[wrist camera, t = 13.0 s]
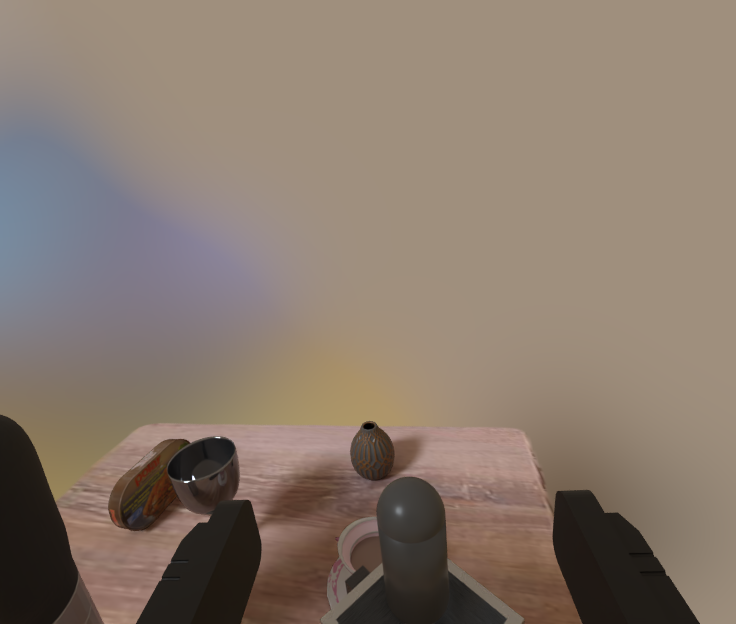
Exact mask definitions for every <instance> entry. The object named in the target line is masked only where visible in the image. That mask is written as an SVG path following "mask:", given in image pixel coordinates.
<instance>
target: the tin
mask: <svg viewBox="0 0 736 624" xmlns="http://www.w3.org/2000/svg"><path fill="white" fill-rule="evenodd" d="M188 444H190V442H189V441H187V440H185V439H169V440H165V441H163V442H161V443H159V444H158V445H157V446H156V447H155V448H153V449H152V450H151V451H150V452H149V453H148V454H147V455H146V456H145V457H143V458H142V459H141V460H140V461H139V462H138V463H137V464H136V465H135V466H133V467H132V468H131V469H130V470H129V471H128V472H127V473H126V474H125V475H123V476H122V477H121V478H120V479H119V481H118V482H117V483H116V485H115V486H114V488H113V490H112V493H111V495H110V499H109V504H108V510H109V514H110V517H111V520H112V521H113V523H114V524H115V525H116V526H118V527H120V528H124V529H129V530H131V531H139V530H142V529H145V528H147V527H148V526H149V525H151V524H152V523H153V522H154V521H155V520H156V519H157V518H158V517H159V515H160V514H161V513H162V512H163V511H164V510H165V509H166V508H167V506H168V505H169V504H170V503H171V502H172V501H173V500H174V499H175V498H176V496H177V495H176V493H175V492H174V490H173V487H172V485H171V482H170V480H169V477H168V473H167V465H168V463H169V461H170V459H171V458H172V457H173V456H174V454H175V453H177V452H178V451H179V450H180V449H182V448H183V447H185V446H186V445H188Z"/></svg>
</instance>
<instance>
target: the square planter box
mask: <svg viewBox="0 0 736 624" xmlns="http://www.w3.org/2000/svg"><path fill="white" fill-rule="evenodd" d="M447 561H448V581H449V603H448V607H447V609H446V611H445V613H444V614H443V616H442V617H441V618H440V619H439V620H437V621H436V622H434V623H433V624H524V618H523V617H521V616H520V615H519V614H518V613H516V612H515V611H514V610H513V609H511V608H510V607H509V606H508V605H506V604H505V603H504V602H503V601H501V600H500V599H499V598H497V597H496V596H495V595H494V594H492V593H491V592H490V591H489V590H487V589H486V588H485V587H484V586H482V585H481V584H480V583H479V582H477V581H476V580H475V579H473V578H472V577H471V576H470V575H468V574H467V573H466V572H465V571H463V570H462V569H461V568H460V567H458V566H457V565H456V564H455V563H453V562H452V561H451V560H449V559H448V558H447ZM345 585H346V591H347V595H346V596H345V597H344V598H343V599H342V600H341V601H340V602H339V603H337V604H336V605H335V606H334V607H333V608H332V609H331V610H330V611H329V612H328V613H327V614H325V615H324V616H323V617H322V618H321V619H320V622H321V624H406V623H404V622H402V621H400V620H399V619H398V618H397V617H396V616H395V615H394V614H393V613H392V611H391V610H390V607H389V605H388V602H387V597H386V589H385V581H384V573H383V565H382V563H381V564H380V565H379V566H378V567H377V568H376V569H375V570H374V571H372V572H371V573H370V572H369V571H368V570H367V569H366V568H365V567H364V566H363V565H362V566H361V567H360V568H359V569H358V570H357V571H356V572H354V573H353V574H352V575H351V576H350V577H349V578H348V579H347V580H345Z"/></svg>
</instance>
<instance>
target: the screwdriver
mask: <svg viewBox="0 0 736 624" xmlns="http://www.w3.org/2000/svg"><path fill="white" fill-rule="evenodd" d="M376 512H377V524H378V532H379V540H380V548H381V557H382V565H383V573H384V581H385V589H386V597H387V602H388V605H389V607H390V610H391V611H392V613H393V614H394V615H395V616H396V617H397V618H398V619H399V620H400V621H402V622H404V623H406V624H433V623H434V622H436V621H437V620H439V619H440V618H441V617H442V616H443V614H444V613H445V611H446V609H447V607H448V603H449V581H448V561H447V540H446V520H445V509H444V505H443V502H442V499H441V497H440V495H439V494H438V492H437V491H436V490H435V488H434V487H433V486H431V485H430V484H429V483H428V482H426V481H424V480H422V479H420V478H416V477H403V478H399V479H397V480H395V481H393V482H392V483H390V484H389V485H388V486H387V487H386V488H385V489H384V490H383V492H382V494H381V496H380V498H379V501H378V504H377V511H376Z"/></svg>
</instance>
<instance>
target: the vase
mask: <svg viewBox="0 0 736 624" xmlns="http://www.w3.org/2000/svg"><path fill="white" fill-rule="evenodd" d="M350 455H351V461H352V464H353V467H354V468H355V470H356V471H357V473H358V474H359V475H360V476H362V477H363V478H366V479H369V480H378V479H381V478H382V477H384V476H385V475H387V474H388V472H389V471H390V470H391V468H392V466H393V462H394V447H393V444H392V441H391V439H390V437H389V436H388V435H387V434H386V433H385V432H384V431H383V430H382V429H380V428H379V427H378V426H377V424H376V423H375V422H373V421H368V422H365V423H363V424H362V426H361V428H360V430H359V431H358V433H357V434H356V435H355V437H354V438H353V441H352V444H351V450H350Z"/></svg>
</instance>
